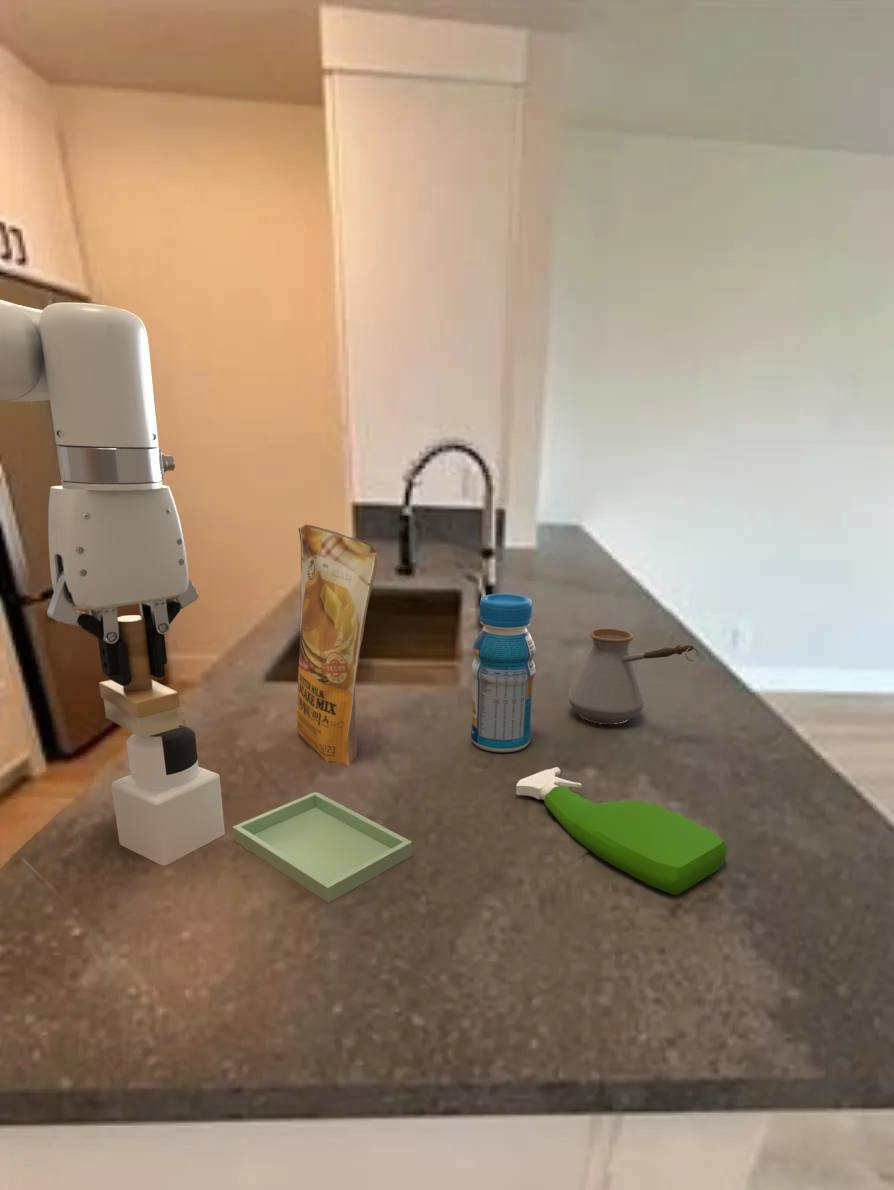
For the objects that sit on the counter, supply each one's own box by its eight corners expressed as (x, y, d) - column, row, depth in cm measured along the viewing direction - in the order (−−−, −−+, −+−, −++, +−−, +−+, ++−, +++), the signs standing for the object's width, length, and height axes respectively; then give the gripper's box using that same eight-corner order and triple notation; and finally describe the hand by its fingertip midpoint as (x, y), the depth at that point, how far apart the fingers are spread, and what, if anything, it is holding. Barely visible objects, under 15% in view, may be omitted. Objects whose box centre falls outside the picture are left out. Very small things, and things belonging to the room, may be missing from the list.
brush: (103, 717, 68) (89, 614, 65) (143, 707, 71) (131, 607, 68) (140, 739, 64) (127, 630, 61) (182, 727, 67) (171, 622, 64)
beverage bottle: (493, 760, 93) (499, 609, 87) (457, 737, 100) (460, 595, 94) (544, 745, 98) (552, 601, 92) (506, 725, 105) (512, 589, 99)
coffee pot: (551, 710, 111) (557, 615, 106) (607, 697, 117) (615, 607, 113) (651, 763, 94) (663, 653, 90) (711, 745, 100) (725, 641, 96)
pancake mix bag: (330, 715, 106) (322, 521, 97) (385, 765, 91) (382, 541, 82) (284, 723, 102) (272, 523, 94) (334, 777, 87) (325, 544, 79)
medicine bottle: (181, 816, 78) (169, 712, 74) (226, 836, 74) (216, 728, 70) (118, 846, 72) (102, 735, 68) (164, 869, 68) (150, 753, 65)
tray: (233, 843, 73) (232, 826, 72) (316, 806, 81) (315, 791, 80) (328, 906, 64) (327, 888, 63) (412, 858, 72) (412, 841, 71)
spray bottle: (668, 905, 66) (494, 802, 83) (735, 863, 73) (561, 776, 90) (671, 876, 65) (495, 779, 83) (739, 837, 72) (563, 755, 89)
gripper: (181, 466, 69) (198, 651, 74) (-17, 467, 57) (22, 688, 62) (224, 471, 64) (239, 668, 70) (20, 474, 52) (58, 711, 58)
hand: (136, 676), depth 66 cm, fingers closed on brush, 2 cm apart
